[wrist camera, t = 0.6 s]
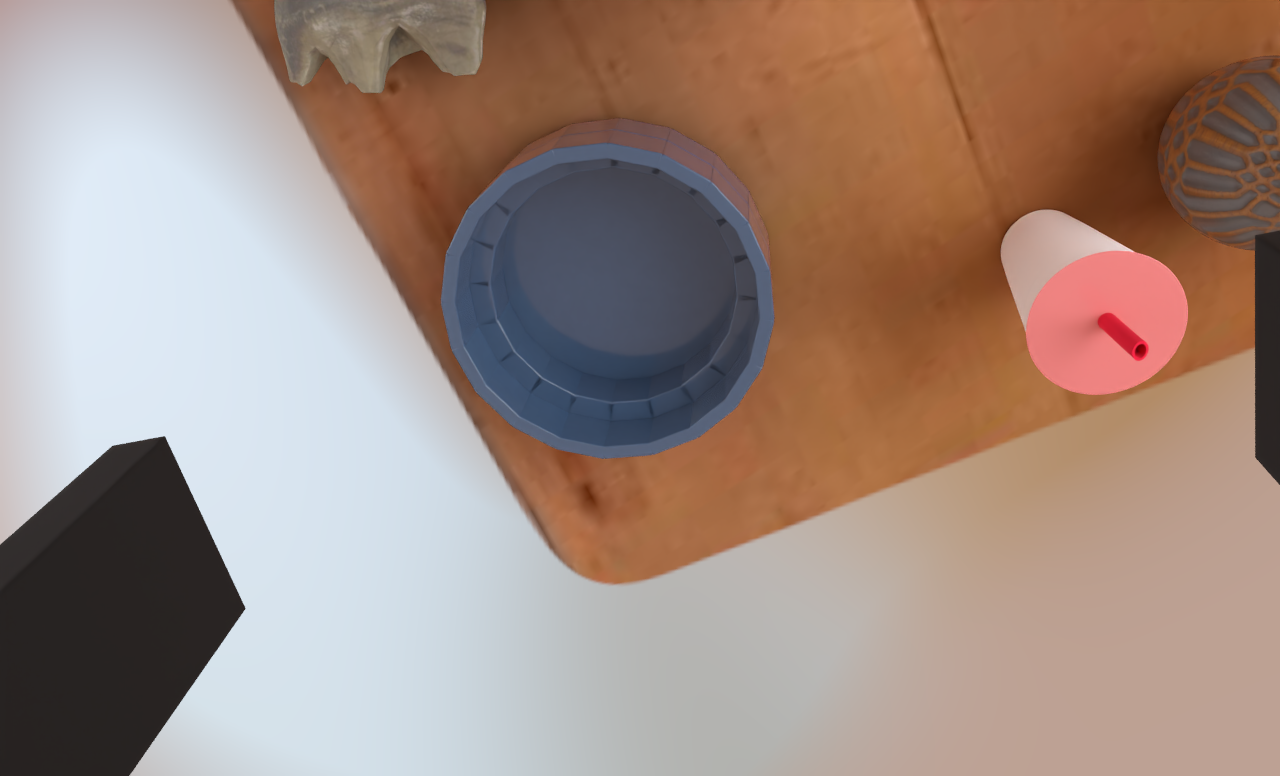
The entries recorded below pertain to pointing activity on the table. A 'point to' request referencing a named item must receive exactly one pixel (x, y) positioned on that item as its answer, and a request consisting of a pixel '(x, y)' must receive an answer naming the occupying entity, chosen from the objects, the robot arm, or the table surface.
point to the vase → (1226, 153)
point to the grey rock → (378, 36)
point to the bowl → (611, 290)
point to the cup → (1091, 304)
